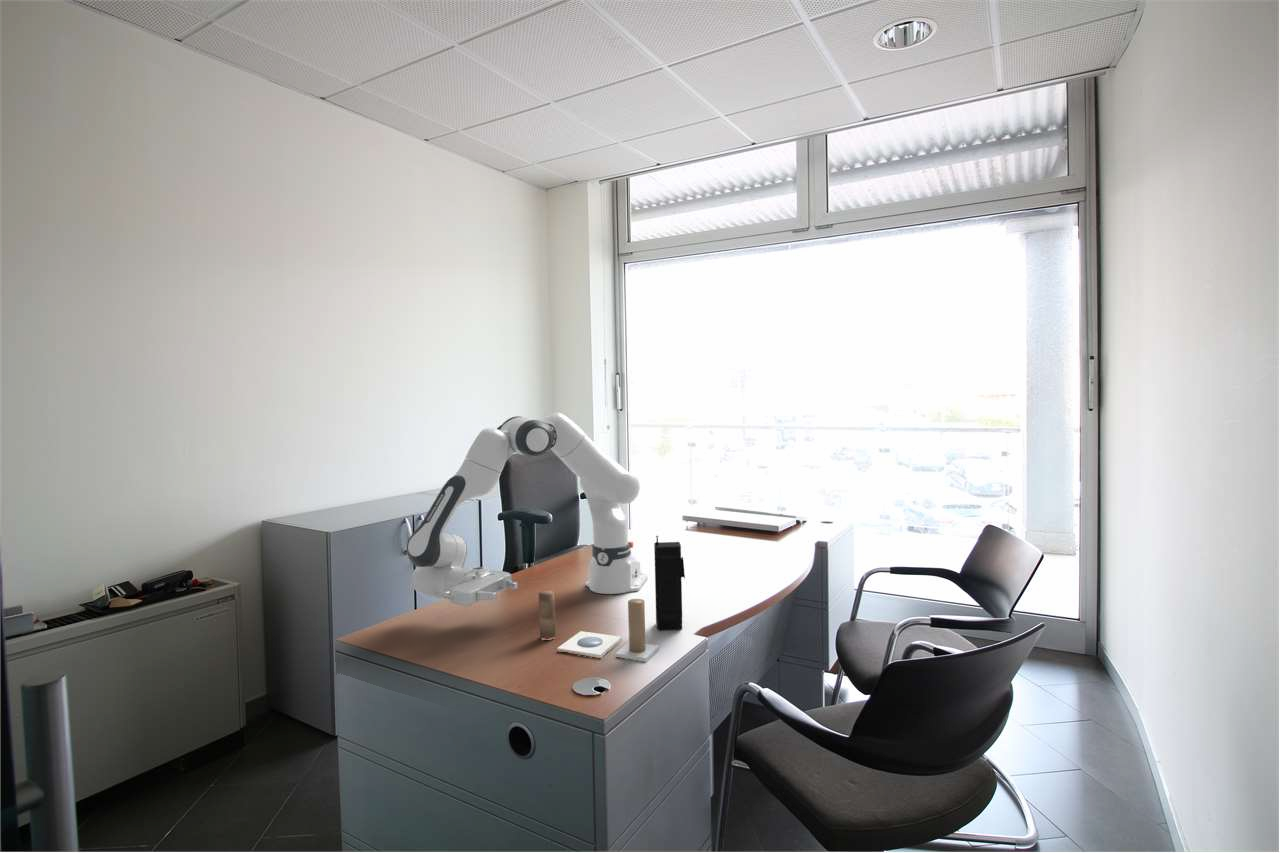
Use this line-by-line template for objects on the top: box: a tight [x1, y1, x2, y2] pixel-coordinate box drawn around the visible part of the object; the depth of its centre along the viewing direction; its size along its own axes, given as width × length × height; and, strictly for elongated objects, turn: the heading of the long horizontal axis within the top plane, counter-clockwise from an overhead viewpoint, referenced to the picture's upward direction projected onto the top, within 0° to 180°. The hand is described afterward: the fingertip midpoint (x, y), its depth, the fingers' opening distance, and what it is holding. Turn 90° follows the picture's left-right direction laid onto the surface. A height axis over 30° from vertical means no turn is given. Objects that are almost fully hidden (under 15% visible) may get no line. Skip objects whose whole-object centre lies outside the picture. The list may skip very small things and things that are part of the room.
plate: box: [556, 630, 623, 658], centre depth 171 cm, size 12×12×1 cm
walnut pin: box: [538, 590, 557, 639], centre depth 177 cm, size 4×4×12 cm
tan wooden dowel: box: [615, 598, 660, 663], centre depth 166 cm, size 8×8×13 cm
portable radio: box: [653, 535, 686, 631], centre depth 183 cm, size 8×6×25 cm
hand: (506, 591), depth 181 cm, fingers open, 8 cm apart
